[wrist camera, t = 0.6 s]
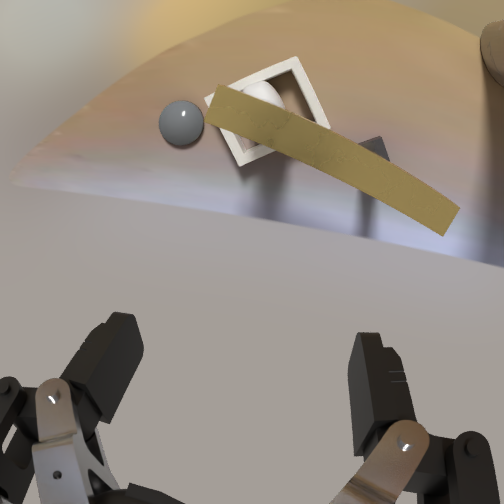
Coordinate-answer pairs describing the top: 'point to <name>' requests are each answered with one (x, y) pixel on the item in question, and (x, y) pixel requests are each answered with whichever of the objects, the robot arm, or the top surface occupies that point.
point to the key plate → (376, 146)
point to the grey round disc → (181, 122)
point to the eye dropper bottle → (264, 93)
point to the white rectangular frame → (264, 75)
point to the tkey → (330, 155)
